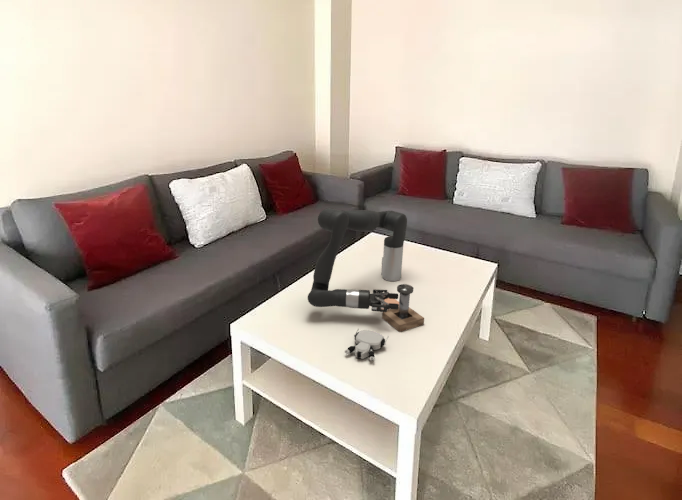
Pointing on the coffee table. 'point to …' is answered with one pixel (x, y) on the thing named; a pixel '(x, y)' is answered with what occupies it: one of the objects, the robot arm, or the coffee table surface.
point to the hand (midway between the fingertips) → (398, 301)
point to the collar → (403, 324)
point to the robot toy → (366, 344)
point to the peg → (404, 300)
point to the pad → (391, 301)
